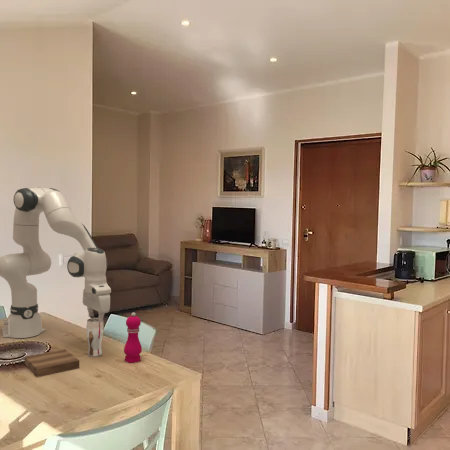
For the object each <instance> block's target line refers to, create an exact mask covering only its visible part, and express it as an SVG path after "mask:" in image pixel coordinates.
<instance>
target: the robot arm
mask: <svg viewBox="0 0 450 450" xmlns="http://www.w3.org/2000/svg"><path fill="white" fill-rule="evenodd" d="M13 204H14V207H15V209H14V216H13V224H12V225H13V229H12V231H13V232H12V239H13V241H14V242H15V243H16V244H17V245H19V246H20V247H22V251H23V252H21V253H20V252H18V253H10V254H4V255H3V256H2V255H1V256H0V278H3V279H4V280H5V281H6V282H7V284H8V285H9V287H10V291H11V305H10V308H9V309H10V310H9V311H10V313H9V315H8V317H7V318H6V319H5V320H3V327H2V328H1V332H2V337H3V338H11V339H12V338H13V339H25V338H32V337H35V336H38V335H40V334H41V333H43V332H45V331H46V329H45V328H43V326H42V325H43V324H42V315H41V314H40V313H39V303H38V290H37V287H36V286H35V285H34V284H32V283H30V282H28V279H27V277H28V276H35V275H41V274H44V273H46V272H48V271H49V270H50V269H51V267H52V258H51V257H50V255H49V254H48V253H47V252H46V251H44V249H43V248H42V246H41V243H40V237H39V236H40V215H41V213H42V212H43V213H44V216H45V218H46V221H47V223H48V225H49V227H50V228H51V229H52V231H54V232H55V233H57V234H61V235H64V236H67V237H70V238H72V239H75V240H76V241H77V242H78V243H79V245H80V246H81V248H82V250H83V252H82V253H79V254H76V255H75V254H74V255H71V257H70V258H69V259H68V260H67V265H66V266H67V267H66V269H67V273H68V274H69V275H70V276H71V277H73V278H84V288H83V290H82V291H83V292H82V304H83V306H86V307H87V308H86V309H87V313H88V317H89V318H95V315H94V314H95V313H94V311H96V312H97V313H98V317H97V318H98V322H103V323H104V317H105V314H107V313H109V312H110V309H111V295H110V294H111V293H112V289H111V287H110V286H109V285H108V282H107V276H106V274H107V273H106V272H107V268H108V264H109V262H108V259H107V256H106V252H105V251H104V249H102V248H100V247H99V246H98V245H97V244H96V242H95V240H94V239H93V237H92V235H91V233H90V231H89V230H88V229H87V227H86V226H85V224H83V223H82V222H81V221H80V220H79V219H78V218H77V217H76V215H75V214H74V212H73V211H72V208H71V207H70V204H69V203H68V201H67V199H66V197H65V196H64V195H63V194H62V193H61V191H60V190H58V189H56V188H53V187H50V188H48V187H41V186H40V187H39V186H38V187H30V188H29V187H24V188H20V189H17V190H16V191H15V193H14V195H13Z"/></svg>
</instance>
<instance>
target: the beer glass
mask: <svg viewBox="0 0 450 450" xmlns="http://www.w3.org/2000/svg"><path fill="white" fill-rule="evenodd" d="M85 330H86V339H87V344H88V346H87V347H88V349H87V356H88V357H90V358H96V357H97V358H98V357H100V356H102V355H103V351H102V342H103V337H104V321H103V322H98V317H89V318H88V319H86V329H85Z"/></svg>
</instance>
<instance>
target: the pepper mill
mask: <svg viewBox="0 0 450 450" xmlns="http://www.w3.org/2000/svg"><path fill="white" fill-rule="evenodd" d="M141 323H142V320H141V318H140V317H139V316H136V312H132V313H131V316H128V317H127V319H126V320H125V327H127V329H126V331H127V339H126V342H125V345H124V347H123V353H124V354H125V356H124V361H125V363H130V364H135V363H134V362H136V363H139V362H140V361H141V355H140V354H141V353H142V352H143V348H142V344H141V341H140V339H139V332H140V326H141ZM138 361H139V362H138Z"/></svg>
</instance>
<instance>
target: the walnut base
mask: <svg viewBox="0 0 450 450" xmlns="http://www.w3.org/2000/svg"><path fill="white" fill-rule="evenodd" d="M24 365H25V366H26V367H27V368H28V369H29V371H30V372H32V374H33V375H34V376H35V377H36V378H39V377H44V376H49V375H53V374H57V373H58V374H59V373H62V372H67V371H72V370H76V369H80V359H78V358H77V357H75V356H74V355H73V354H72V353H70V352H69V350H66V349H64V348H63V349H60V350H59V349H57V350H53V351H48V352H42V353H37V354H31V355H25V356H24Z"/></svg>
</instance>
